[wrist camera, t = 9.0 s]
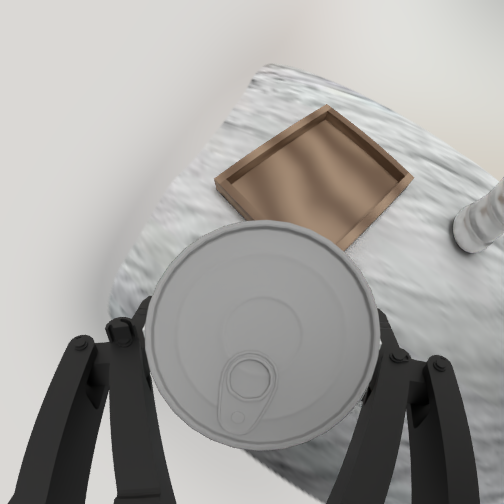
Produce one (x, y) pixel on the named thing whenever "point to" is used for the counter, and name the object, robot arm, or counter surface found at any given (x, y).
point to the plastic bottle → (481, 221)
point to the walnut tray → (316, 178)
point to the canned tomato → (262, 335)
